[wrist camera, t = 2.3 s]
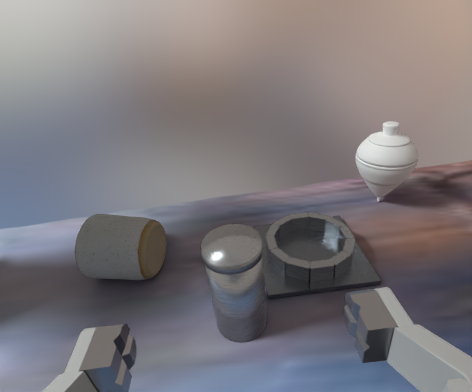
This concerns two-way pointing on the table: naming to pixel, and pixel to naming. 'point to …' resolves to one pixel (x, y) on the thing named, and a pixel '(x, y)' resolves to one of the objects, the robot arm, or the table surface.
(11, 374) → the table surface
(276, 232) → the duct flange
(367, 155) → the spinning top
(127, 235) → the ceramic mug
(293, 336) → the table surface
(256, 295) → the lidded canister
